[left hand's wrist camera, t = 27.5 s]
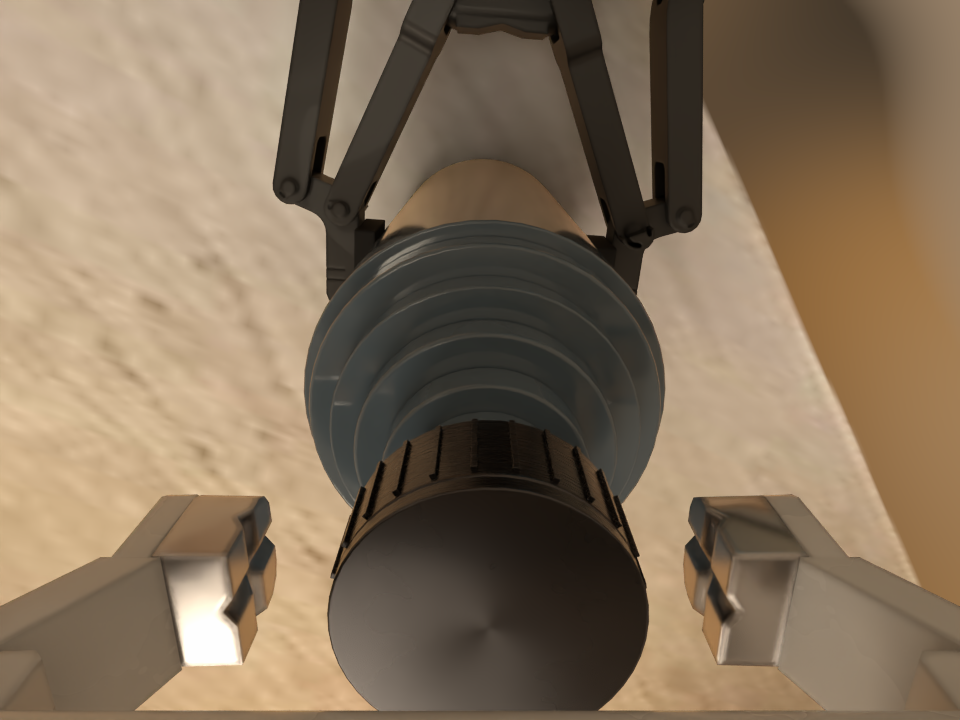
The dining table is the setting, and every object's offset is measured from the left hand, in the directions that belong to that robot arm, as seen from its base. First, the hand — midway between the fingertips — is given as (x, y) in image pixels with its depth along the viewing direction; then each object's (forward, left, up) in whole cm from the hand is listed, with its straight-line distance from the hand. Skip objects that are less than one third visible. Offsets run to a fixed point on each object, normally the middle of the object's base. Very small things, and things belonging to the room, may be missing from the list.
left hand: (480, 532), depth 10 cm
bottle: (0, 0, -24) cm, 24 cm away
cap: (0, 0, +2) cm, 2 cm away
